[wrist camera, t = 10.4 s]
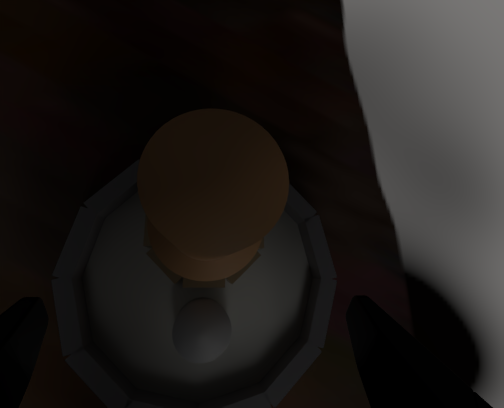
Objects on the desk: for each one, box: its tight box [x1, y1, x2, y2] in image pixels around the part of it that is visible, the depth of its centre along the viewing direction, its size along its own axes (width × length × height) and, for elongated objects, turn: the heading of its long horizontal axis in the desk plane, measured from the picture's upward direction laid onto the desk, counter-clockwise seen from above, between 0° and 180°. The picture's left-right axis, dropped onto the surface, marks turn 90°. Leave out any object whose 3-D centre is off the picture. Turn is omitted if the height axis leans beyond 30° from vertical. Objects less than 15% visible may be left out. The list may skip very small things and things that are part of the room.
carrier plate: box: [51, 159, 337, 408], centre depth 19 cm, size 16×16×3 cm
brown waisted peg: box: [137, 108, 289, 281], centre depth 14 cm, size 6×6×12 cm
